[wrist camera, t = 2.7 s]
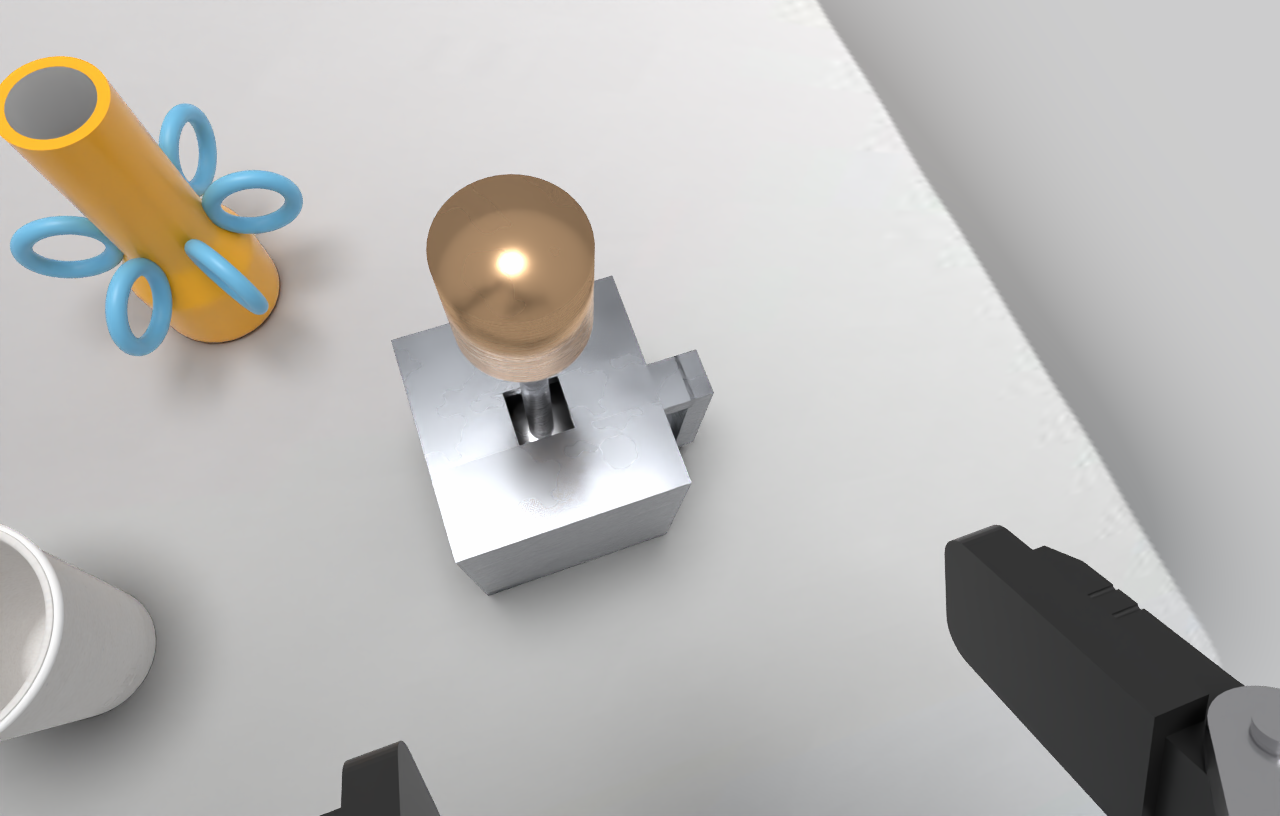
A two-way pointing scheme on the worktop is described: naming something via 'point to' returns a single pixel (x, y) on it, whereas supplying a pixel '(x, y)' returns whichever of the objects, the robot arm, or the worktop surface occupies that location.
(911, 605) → the worktop surface
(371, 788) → the robot arm
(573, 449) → the frame
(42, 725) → the dixie cup
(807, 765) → the worktop surface
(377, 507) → the worktop surface
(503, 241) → the plunger
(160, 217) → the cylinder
